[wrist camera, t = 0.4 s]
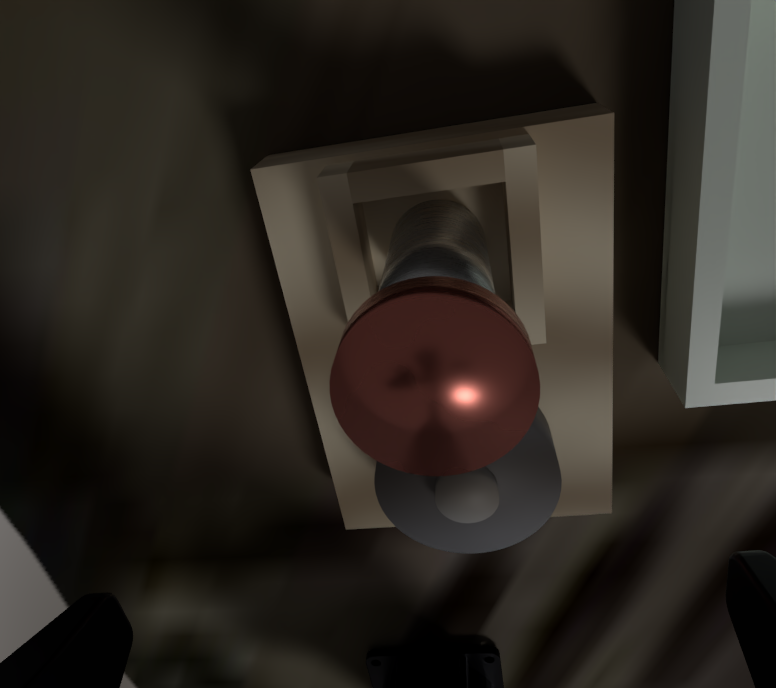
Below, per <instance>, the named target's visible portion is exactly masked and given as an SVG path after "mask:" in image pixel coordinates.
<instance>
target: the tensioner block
mask: <svg viewBox="0 0 776 688" xmlns="http://www.w3.org/2000/svg"><path fill="white" fill-rule="evenodd" d="M250 170H251V174H252V178H253V182H254V185H255V189H256V193H257V197H258V200H259V204H260V208H261V212H262V215H263V219H264V223H265V227H266V231H267V234H268V238H269V242H270V246H271V249H272V253H273V257H274V261H275V264H276V268H277V272H278V276H279V279H280V283H281V287H282V291H283V294H284V298H285V302H286V306H287V309H288V313H289V317H290V321H291V325H292V328H293V332H294V336H295V340H296V343H297V347H298V351H299V355H300V358H301V362H302V366H303V370H304V373H305V377H306V381H307V385H308V388H309V392H310V396H311V400H312V404H313V407H314V411H315V415H316V419H317V422H318V426H319V430H320V434H321V437H322V441H323V445H324V449H325V452H326V456H327V460H328V464H329V467H330V471H331V475H332V479H333V482H334V486H335V490H336V494H337V498H338V501H339V505H340V509H341V513H342V516H343V520H344V524H345V528H346V530H348V529H364V528H380V527H397V528H398V529H399V530H400V531H401V532H403V533H404V534H406V535H407V536H409V537H410V538H412V539H414V540H416V541H417V542H419V543H421V544H424V545H427V546H429V547H432V548H435V549H439V550H443V551H448V552H455V553H483V552H490V551H495V550H499V549H502V548H506V547H509V546H511V545H514V544H516V543H518V542H520V541H522V540H524V539H526V538H528V537H529V536H531V535H532V534H533V533H535V532H536V531H537V530H538V529H539V528H541V527H542V526H543V525H544V524H545V523H546V521H547V520H548V519H549V518H550V517H558V516H575V515H591V514H607V513H612V409H613V242H614V112H612V111H611V110H609V109H607V108H606V107H604V106H602V105H601V104H599V103H593V104H586V105H580V106H574V107H568V108H561V109H555V110H549V111H542V112H536V113H530V114H524V115H517V116H511V117H505V118H498V119H492V120H486V121H480V122H473V123H467V124H461V125H454V126H448V127H442V128H435V129H429V130H423V131H417V132H410V133H404V134H398V135H391V136H385V137H379V138H373V139H366V140H360V141H354V142H347V143H341V144H335V145H329V146H322V147H316V148H310V149H303V150H297V151H291V152H285V153H278V154H272V155H268V156H266V157H265V158H264V159H263V160H261V161H260V162H259V163H258V164H257V165H255V166H254V167H253V168H252V169H250ZM437 199H440V200H449V201H453V202H456V203H458V204H460V205H462V206H464V207H466V208H467V209H469V210H470V211H471V212H472V213H473V214H474V215H475V216H476V217H477V219H478V220H479V222H480V223H481V226H482V228H483V230H484V234H485V239H486V245H487V250H488V256H489V262H490V267H491V273H492V279H493V284H494V290H495V294H496V295H497V296H499V297H500V298H501V299H502V300H503V301H505V302H506V303H507V304H508V305H509V306H510V307H511V308H512V309H513V310H514V312H515V313H516V314H517V315H518V317H519V318H520V320H521V321H522V323H523V324H524V327H525V329H526V331H527V333H528V335H529V338H530V342H531V345H532V349H533V353H534V357H535V360H536V364H537V368H538V372H539V379H540V400H539V405H538V409H537V412H536V415H535V418H534V420H533V422H532V424H531V426H530V428H529V430H528V431H527V433H526V434H525V435H524V437H523V438H522V439H521V441H520V442H519V443H518V444H517V445H516V446H515V447H514V448H513V449H512V450H510V451H509V452H508V453H507V454H505V455H504V456H503V457H501V458H499V459H498V460H496V461H495V462H493V463H491V464H489V465H487V466H484V467H482V468H479V469H477V470H474V471H471V472H467V473H462V474H458V475H450V476H424V475H416V474H411V473H406V472H403V471H399V470H396V469H394V468H391V467H389V466H386V465H384V464H382V463H380V462H378V461H377V460H375V459H373V458H372V457H370V456H369V455H367V454H366V453H364V452H363V451H362V450H361V449H360V448H359V447H357V446H356V445H355V444H354V443H353V442H352V440H351V439H350V438H349V437H348V436H347V435H346V433H345V432H344V430H343V429H342V427H341V426H340V424H339V422H338V420H337V418H336V416H335V413H334V410H333V407H332V404H331V398H330V385H329V381H330V374H331V368H332V365H333V362H334V359H335V355H336V352H337V349H338V346H339V343H340V340H341V337H342V334H343V331H344V329H345V327H346V325H347V323H348V321H349V320H350V318H351V317H352V315H353V314H354V312H355V311H356V310H357V309H358V308H359V307H360V306H361V305H362V304H363V303H364V302H365V301H366V300H367V299H369V298H370V297H371V296H372V295H374V294H375V293H377V292H378V291H379V287H380V283H381V279H382V275H383V270H384V266H385V262H386V258H387V254H388V249H389V245H390V241H391V237H392V233H393V230H394V228H395V226H396V224H397V222H398V220H399V219H400V218H401V217H402V215H403V214H404V213H405V212H406V211H408V210H409V209H410V208H412V207H413V206H415V205H417V204H419V203H422V202H425V201H429V200H437Z"/></svg>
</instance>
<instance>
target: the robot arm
mask: <svg viewBox="0 0 776 688" xmlns="http://www.w3.org/2000/svg"><path fill="white" fill-rule="evenodd" d="M726 603H727V608H728V612H729V615H730V618H731V621H732V623H733V626H734V629H735V632H736V635H737V637H738V640H739V643H740V646H741V649H742V651H743V654H744V657H745V660H746V663H747V665H748V668H749V671H750V674H751V677H752V679H753V682H754V685H755V688H776V558H775V557H773V556H772V555H771V554H769V553H767V552H765V551H761V550H756V551H740V552H734V553H732V554H731V556H730V558H729V564H728V575H727V586H726ZM132 641H133V631H132V627H131V624H130V622H129V620H128V619H127V617H126V615H125V613H124V611H123V609H122V607H121V605H120V603H119V601H118V600H117V598H116V596H115V595H113V594H112V593H108V592H107V593H92V594H87V595H84V596H83V597H81V598H80V599H79V600H77V601H76V602H75V603H74V604H72V605H71V606H70V607H69V608H67V609H66V610H65V611H64V612H63V613H61V614H60V615H59V616H58V617H56V618H55V619H54V620H53V621H51V622H50V623H49V624H48V625H47V626H45V627H44V628H43V629H42V630H40V631H39V632H38V633H37V634H36V635H34V636H33V637H32V638H31V639H29V640H28V641H27V642H26V643H24V644H23V645H22V646H21V647H20V648H18V649H17V650H16V651H15V652H14V653H12V654H11V655H10V656H8V657H7V658H6V659H5V660H3V661H2V662H1V663H0V688H119V687H120V684H121V681H122V678H123V674H124V671H125V667H126V664H127V660H128V657H129V653H130V650H131V646H132ZM366 665H367V668H368V672H369V675H370V679H371V682H372V686H373V688H504V685H503V677H502V669H501V661H500V653H499V650H498V649H497V648H496V647H494V646H489V645H486V646H454V647H422V648H390V649H372V650H370V651H368V653H367V658H366Z"/></svg>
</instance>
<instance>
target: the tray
mask: <svg viewBox="0 0 776 688" xmlns="http://www.w3.org/2000/svg"><path fill="white" fill-rule="evenodd" d="M658 364H659V365H660V367H661V369H662V370H663V372H664V374H665V375H666V377H667V379H668V380H669V382H670V384H671V385H672V387H673V389H674V390H675V392H676V394H677V395H678V397H679V399H680V400H681V402H682V403H683V405H684V407H685V408H691V407H702V406H714V405H726V404H738V403H750V402H761V401H773V400H776V0H674V21H673V43H672V65H671V87H670V109H669V131H668V153H667V175H666V197H665V219H664V241H663V263H662V285H661V307H660V329H659V351H658Z"/></svg>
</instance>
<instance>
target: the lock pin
mask: <svg viewBox="0 0 776 688" xmlns="http://www.w3.org/2000/svg"><path fill="white" fill-rule="evenodd" d="M329 385H330V398H331V404H332V407H333V410H334V413H335V416H336V418H337V420H338V422H339V424H340V426H341V427H342V429H343V430H344V432H345V433H346V435H347V436H348V437H349V438H350V439H351V440H352V442H353V443H354V444H355V445H356V446H357V447H359V448H360V449H361V450H362V451H363V452H364V453H366V454H367V455H369V456H370V457H372V458H373V459H375V460H377V461H378V462H380V463H382V464H384V465H386V466H389V467H391V468H394V469H396V470H399V471H403V472H406V473H411V474H416V475H424V476H450V475H458V474H462V473H467V472H471V471H474V470H477V469H479V468H482V467H484V466H487V465H489V464H491V463H493V462H495V461H496V460H498V459H499V458H501V457H503V456H504V455H505V454H507V453H508V452H509V451H510V450H512V449H513V448H514V447H515V446H516V445H517V444H518V443H519V442H520V441H521V439H522V438H523V437H524V435H525V434H526V433H527V431H528V430H529V428H530V426H531V424H532V422H533V420H534V418H535V415H536V412H537V409H538V405H539V400H540V379H539V372H538V368H537V364H536V360H535V357H534V353H533V349H532V345H531V342H530V338H529V335H528V333H527V331H526V329H525V327H524V324H523V323H522V321H521V320H520V318H519V317H518V315H517V314H516V313H515V312H514V310H513V309H512V308H511V307H510V306H509V305H508V304H507V303H506V302H505V301H503V300H502V299H501V298H500V297H499V296H497V295H496V294H495V290H494V284H493V279H492V273H491V267H490V262H489V256H488V250H487V245H486V239H485V234H484V230H483V228H482V226H481V223H480V222H479V220H478V219H477V217H476V216H475V215H474V214H473V213H472V212H471V211H470V210H469V209H467V208H466V207H464V206H462V205H460V204H458V203H456V202H453V201H449V200H440V199H437V200H429V201H425V202H422V203H419V204H417V205H415V206H413V207H412V208H410V209H409V210H408V211H406V212H405V213H404V214H403V215H402V217H401V218H400V219H399V220H398V222H397V224H396V226H395V228H394V230H393V233H392V237H391V241H390V245H389V249H388V254H387V258H386V262H385V266H384V270H383V275H382V279H381V283H380V287H379V291H378V292H377V293H375V294H374V295H372V296H371V297H370V298H369V299H367V300H366V301H365V302H364V303H363V304H362V305H361V306H360V307H359V308H358V309H357V310H356V311H355V312H354V314H353V315H352V317H351V318H350V320H349V321H348V323H347V325H346V327H345V329H344V331H343V334H342V337H341V340H340V343H339V346H338V349H337V352H336V355H335V359H334V362H333V365H332V368H331V374H330V381H329Z"/></svg>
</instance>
